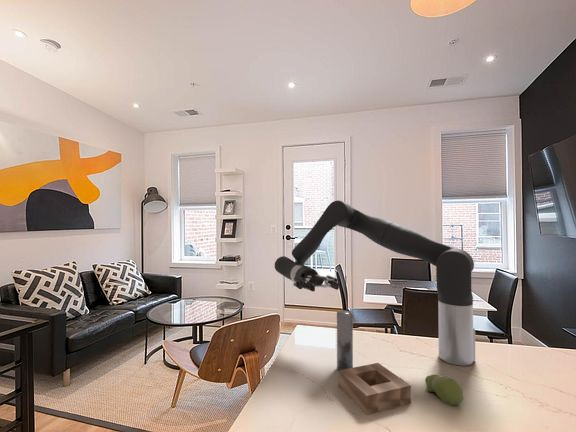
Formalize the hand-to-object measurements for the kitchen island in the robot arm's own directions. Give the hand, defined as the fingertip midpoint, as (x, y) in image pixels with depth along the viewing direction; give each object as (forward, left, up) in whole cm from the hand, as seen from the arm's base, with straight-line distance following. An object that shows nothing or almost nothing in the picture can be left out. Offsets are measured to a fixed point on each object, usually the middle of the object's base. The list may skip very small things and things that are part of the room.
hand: (326, 287), depth 96 cm
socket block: (-1, +23, -21) cm, 31 cm away
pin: (-1, +10, -21) cm, 23 cm away
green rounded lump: (-16, +30, -21) cm, 40 cm away
